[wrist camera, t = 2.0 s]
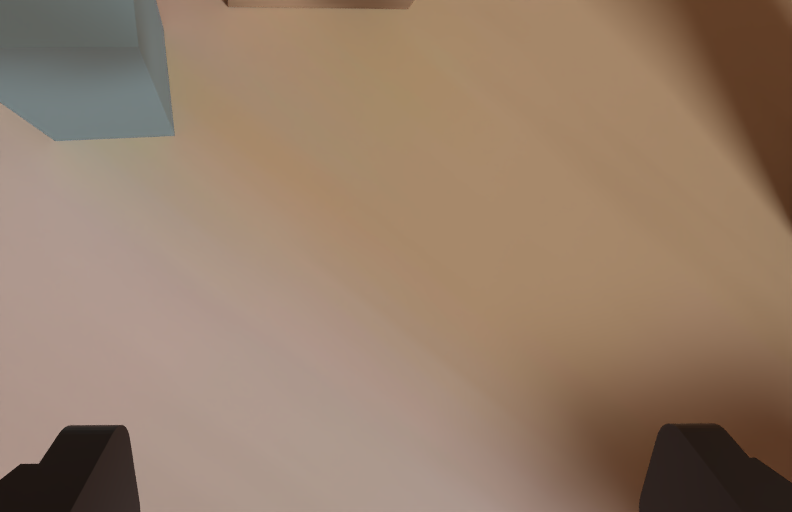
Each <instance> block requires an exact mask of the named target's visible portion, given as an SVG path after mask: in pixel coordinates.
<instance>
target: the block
mask: <svg viewBox="0 0 792 512" xmlns="http://www.w3.org/2000/svg"><path fill="white" fill-rule="evenodd" d="M413 1H414V0H227V2H228V7H295V8H374V9H408V8H409V7H410V6H411V4H412V3H413Z"/></svg>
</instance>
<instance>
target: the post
mask: <svg viewBox="0 0 792 512" xmlns="http://www.w3.org/2000/svg"><path fill="white" fill-rule="evenodd" d="M0 103H2V104H3V105H5V106H6V107H7V108H9V109H10V110H12V111H13V112H15V113H16V114H17V115H19V116H20V117H22V118H23V119H24V120H26V121H27V122H29V123H30V124H32V125H33V126H34V127H36V128H37V129H39V130H40V131H42V132H43V133H44V134H46V135H47V136H49V137H50V138H52V139H53V140H54V141H64V140H88V139H111V138H134V137H157V136H175V134H174V124H173V115H172V105H171V96H170V87H169V77H168V68H167V58H166V49H165V40H164V30H163V25H162V21H161V18H160V14H159V10H158V6H157V3H156V0H0Z"/></svg>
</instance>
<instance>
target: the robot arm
mask: <svg viewBox="0 0 792 512" xmlns="http://www.w3.org/2000/svg"><path fill="white" fill-rule="evenodd" d="M0 512H140V502H139V495H138V489H137V482H136V476H135V469H134V463H133V456H132V450H131V443H130V437H129V433H128V430H127V428H126V427H125V426H123V425H70V426H67V427H65V428H64V429H63V430H62V431H61V432H60V433H59V434H58V436H57V437H56V439H55V440H54V442H53V443H52V445H51V446H50V448H49V449H48V451H47V452H46V454H45V455H44V457H43V458H42V460H41V461H40V463H39V464H20V465H19V466H17V467H16V468H15V469H14V470H12V471H11V472H10V473H8V474H7V475H6V476H5V477H3V478H2V479H1V480H0ZM639 512H792V483H791V482H790V481H788V480H787V479H785V478H784V477H782V476H781V475H779V474H778V473H777V472H775V471H774V470H772V469H771V468H769V467H768V466H767V465H765V464H764V463H762V462H761V461H759V460H758V459H757V458H749V457H748V456H747V454H746V453H745V452H744V451H743V450H742V449H741V448H740V446H739V445H738V444H737V443H736V442H735V441H734V440H733V438H732V437H731V436H730V435H729V434H728V433H727V431H726V430H724V429H723V428H722V427H721V426H719V425H717V424H712V423H709V424H665V425H664V426H662V427H661V429H660V430H659V432H658V435H657V438H656V442H655V445H654V449H653V453H652V456H651V460H650V464H649V467H648V471H647V474H646V478H645V482H644V485H643V489H642V492H641V496H640V502H639Z"/></svg>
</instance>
